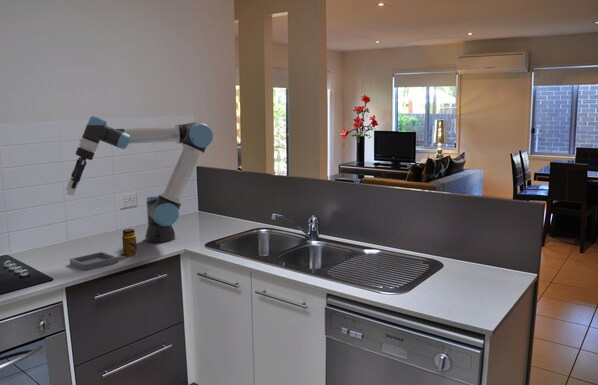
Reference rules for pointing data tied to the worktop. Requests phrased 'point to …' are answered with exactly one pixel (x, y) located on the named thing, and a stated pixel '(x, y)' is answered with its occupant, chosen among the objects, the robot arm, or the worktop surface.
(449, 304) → the worktop surface
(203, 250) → the worktop surface
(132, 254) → the condiment
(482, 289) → the worktop surface
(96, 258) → the tray
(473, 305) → the worktop surface
